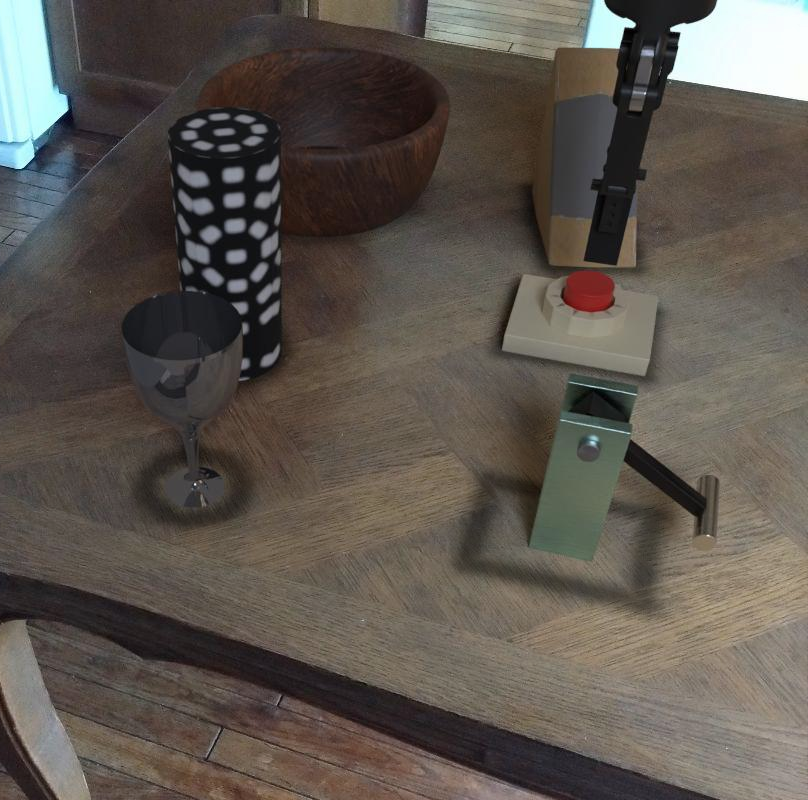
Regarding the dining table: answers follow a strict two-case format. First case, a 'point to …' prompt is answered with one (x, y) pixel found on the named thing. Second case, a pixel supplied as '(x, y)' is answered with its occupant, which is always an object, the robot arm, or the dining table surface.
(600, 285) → the button
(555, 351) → the block
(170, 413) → the wine glass
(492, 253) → the dining table surface
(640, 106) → the robot arm
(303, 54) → the wooden bowl
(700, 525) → the lever
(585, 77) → the sandwich container
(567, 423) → the bracket
